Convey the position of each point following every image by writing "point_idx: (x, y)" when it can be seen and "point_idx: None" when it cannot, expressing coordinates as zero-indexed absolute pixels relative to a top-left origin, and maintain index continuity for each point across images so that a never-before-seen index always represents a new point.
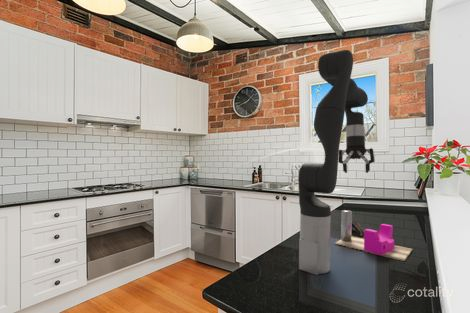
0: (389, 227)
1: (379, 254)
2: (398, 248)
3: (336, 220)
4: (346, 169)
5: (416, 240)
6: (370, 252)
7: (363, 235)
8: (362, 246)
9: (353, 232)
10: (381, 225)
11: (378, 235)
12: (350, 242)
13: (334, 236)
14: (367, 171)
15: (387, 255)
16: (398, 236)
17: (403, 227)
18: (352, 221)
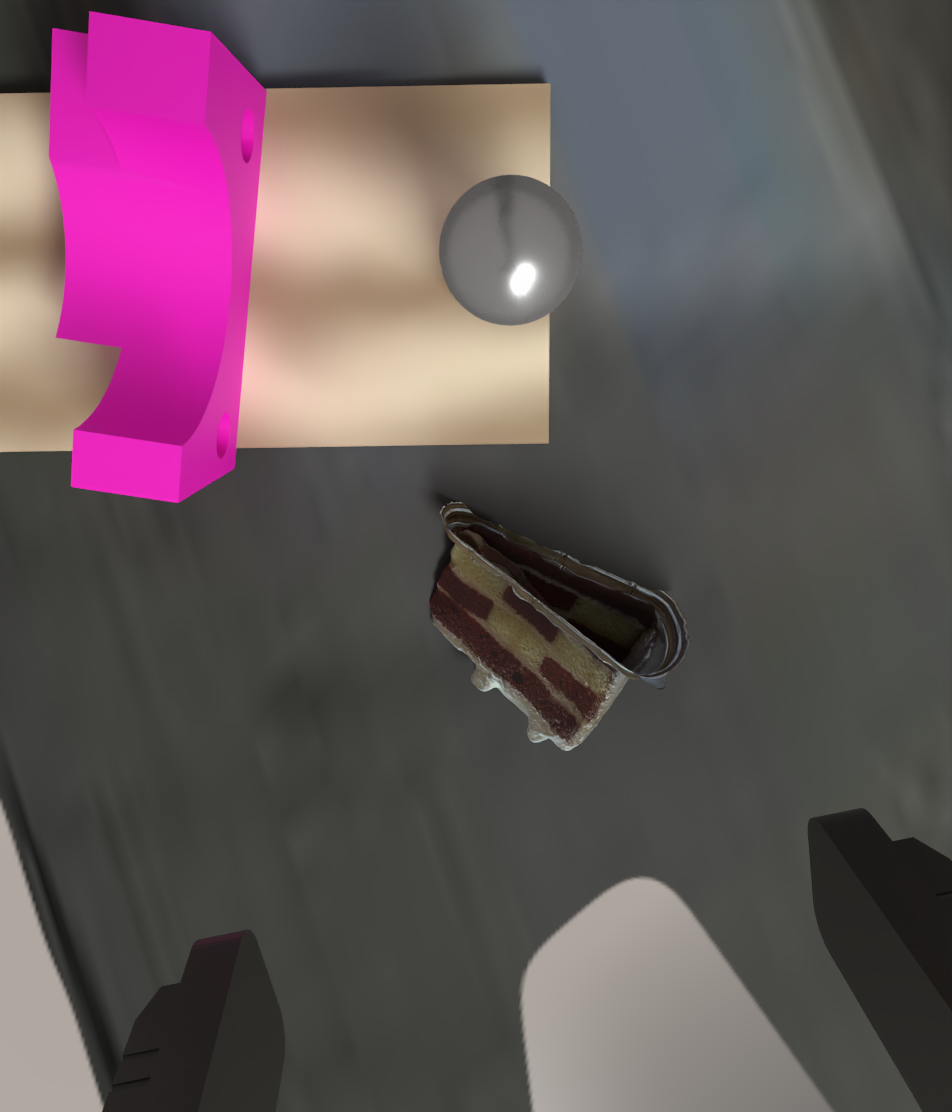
0: (87, 426)
1: None
2: (72, 376)
3: None
4: (857, 917)
5: (72, 775)
6: None
7: (441, 574)
8: (314, 186)
9: (542, 590)
10: (173, 440)
11: (106, 127)
12: (442, 226)
13: (652, 363)
14: (192, 952)
15: None
16: (215, 790)
17: None
18: (587, 689)
